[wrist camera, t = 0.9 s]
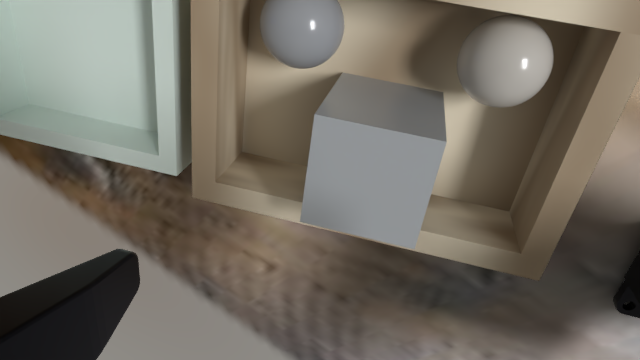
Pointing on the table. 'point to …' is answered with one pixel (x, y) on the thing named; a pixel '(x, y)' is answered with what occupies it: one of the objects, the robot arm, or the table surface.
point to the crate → (460, 116)
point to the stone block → (374, 159)
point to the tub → (99, 78)
